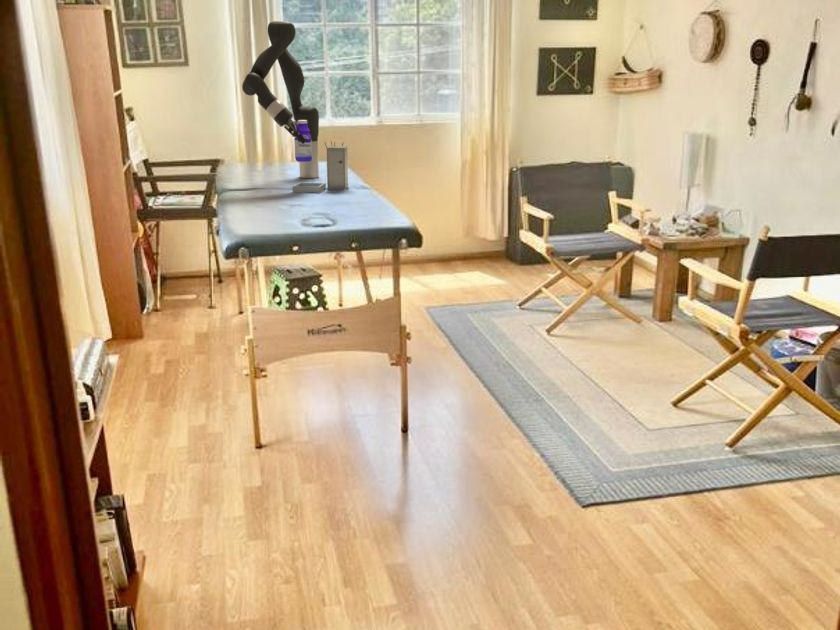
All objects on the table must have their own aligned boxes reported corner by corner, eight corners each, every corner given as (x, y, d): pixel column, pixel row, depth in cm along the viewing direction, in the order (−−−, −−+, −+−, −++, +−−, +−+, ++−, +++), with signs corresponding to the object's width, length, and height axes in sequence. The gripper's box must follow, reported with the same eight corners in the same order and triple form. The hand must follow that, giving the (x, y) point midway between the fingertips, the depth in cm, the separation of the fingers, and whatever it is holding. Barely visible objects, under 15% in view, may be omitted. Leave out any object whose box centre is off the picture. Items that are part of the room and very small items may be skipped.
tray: (299, 188, 357) (298, 182, 356) (325, 188, 356) (325, 183, 355) (292, 192, 346) (292, 186, 345) (319, 192, 345) (319, 187, 344)
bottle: (297, 162, 346) (296, 120, 341) (293, 160, 351) (292, 119, 345) (313, 161, 349) (312, 120, 344) (309, 160, 354) (308, 119, 349)
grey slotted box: (330, 187, 361) (329, 146, 356) (348, 187, 360) (347, 146, 355) (327, 189, 354) (326, 147, 349) (345, 189, 353) (344, 148, 348)
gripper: (280, 107, 337) (308, 136, 339) (289, 106, 351) (316, 134, 353) (268, 120, 339) (296, 149, 341) (278, 118, 353) (305, 146, 355)
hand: (306, 141), depth 347 cm, fingers closed on bottle, 6 cm apart
